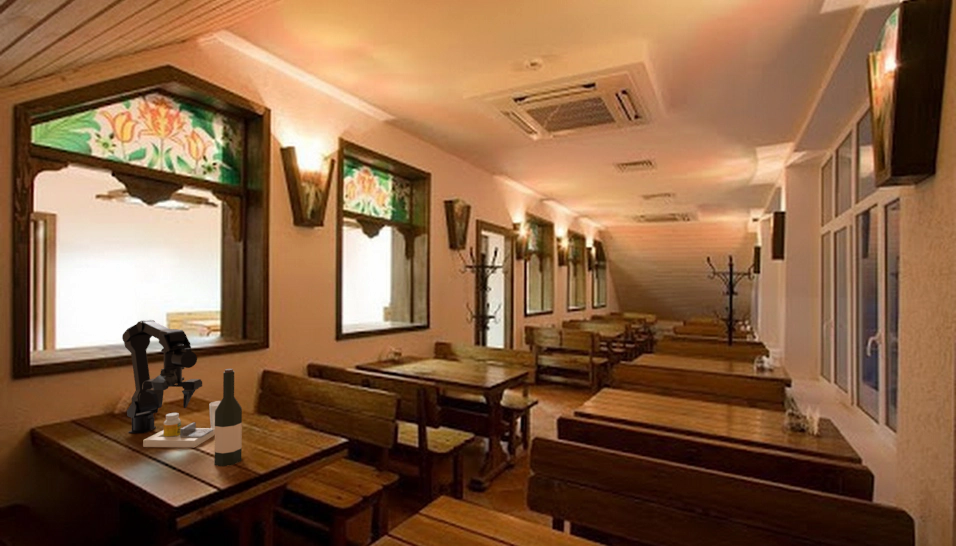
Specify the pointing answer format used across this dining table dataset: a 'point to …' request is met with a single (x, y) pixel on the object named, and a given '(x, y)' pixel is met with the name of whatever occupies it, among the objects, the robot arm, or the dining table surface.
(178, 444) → the socket board
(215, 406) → the white cup
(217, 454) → the wine bottle
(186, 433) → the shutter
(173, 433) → the supplement bottle
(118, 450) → the dining table surface
